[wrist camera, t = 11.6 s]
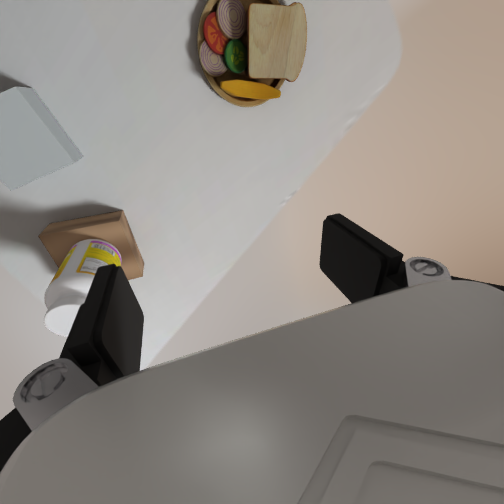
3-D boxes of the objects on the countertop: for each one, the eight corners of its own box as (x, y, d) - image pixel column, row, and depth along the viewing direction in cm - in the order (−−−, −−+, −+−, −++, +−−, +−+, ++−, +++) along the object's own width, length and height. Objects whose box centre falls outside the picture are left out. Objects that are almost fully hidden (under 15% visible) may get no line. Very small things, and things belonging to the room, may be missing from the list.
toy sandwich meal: (197, -32, 27) (202, -54, 23) (304, 2, 32) (323, -11, 28) (195, 99, 33) (199, 99, 30) (285, 113, 38) (299, 114, 34)
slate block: (-36, 116, 27) (-62, 118, 24) (32, 87, 28) (15, 86, 25) (26, 181, 32) (11, 190, 29) (83, 156, 33) (74, 162, 29)
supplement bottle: (80, 279, 37) (49, 350, 26) (60, 241, 33) (15, 306, 23) (128, 270, 38) (116, 334, 28) (114, 233, 35) (94, 290, 24)
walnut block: (49, 223, 35) (38, 236, 32) (123, 210, 37) (119, 220, 34) (81, 277, 41) (74, 292, 38) (144, 263, 43) (142, 276, 40)
